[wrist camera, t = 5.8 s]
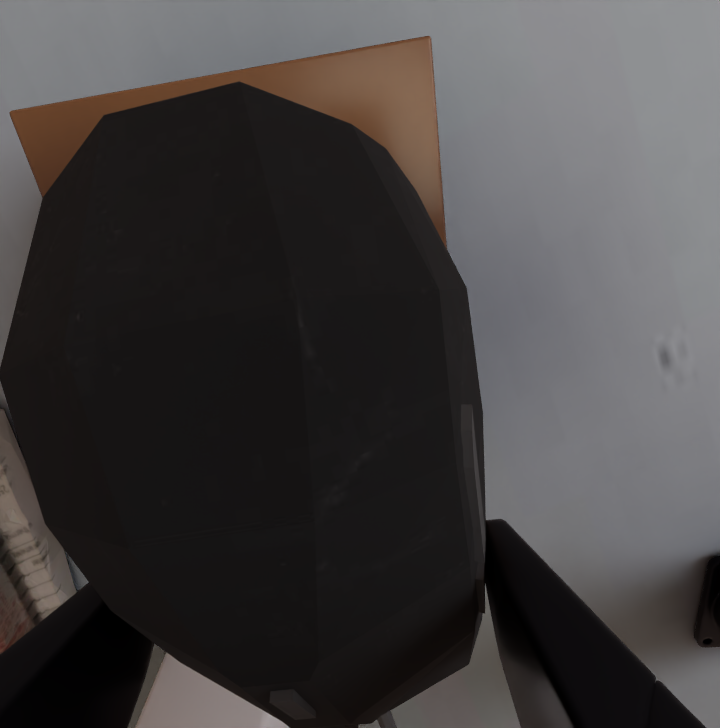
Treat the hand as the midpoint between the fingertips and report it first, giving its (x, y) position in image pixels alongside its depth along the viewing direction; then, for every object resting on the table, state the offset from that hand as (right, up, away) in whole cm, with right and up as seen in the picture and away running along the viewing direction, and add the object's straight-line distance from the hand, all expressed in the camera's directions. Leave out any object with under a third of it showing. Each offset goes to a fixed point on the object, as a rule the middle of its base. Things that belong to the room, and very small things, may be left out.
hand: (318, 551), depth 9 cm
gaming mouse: (0, +1, +1) cm, 1 cm away
